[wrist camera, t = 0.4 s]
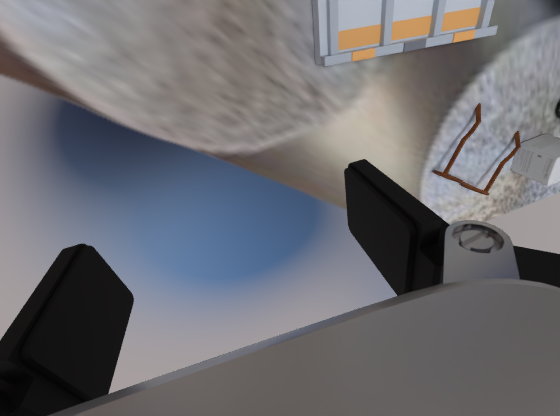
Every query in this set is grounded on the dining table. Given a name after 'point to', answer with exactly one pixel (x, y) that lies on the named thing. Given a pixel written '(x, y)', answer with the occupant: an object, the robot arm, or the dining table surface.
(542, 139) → the product box
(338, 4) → the switch bank
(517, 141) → the glasses
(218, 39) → the dining table surface
